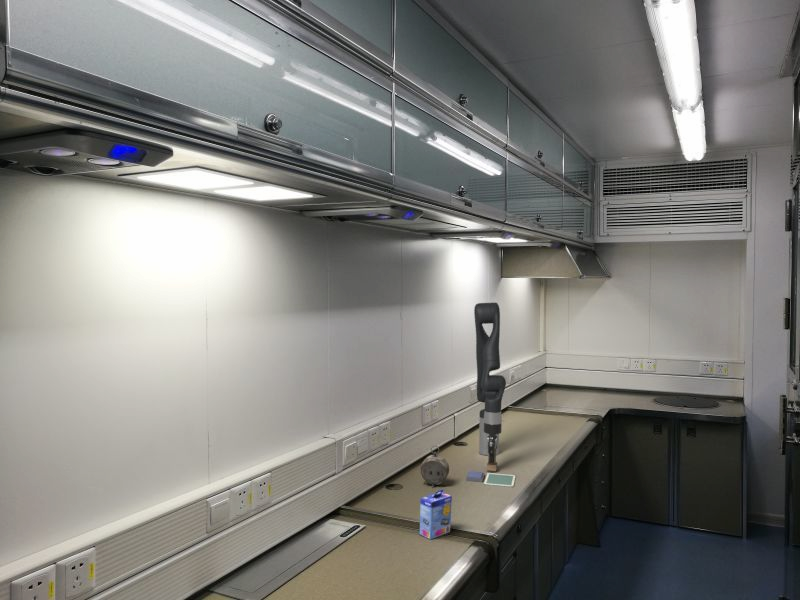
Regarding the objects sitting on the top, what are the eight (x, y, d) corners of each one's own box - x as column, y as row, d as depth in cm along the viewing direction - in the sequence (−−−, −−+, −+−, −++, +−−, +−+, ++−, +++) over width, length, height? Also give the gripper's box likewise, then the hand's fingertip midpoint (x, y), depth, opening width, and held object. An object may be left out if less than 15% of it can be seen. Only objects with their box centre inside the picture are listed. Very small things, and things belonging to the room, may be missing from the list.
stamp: (487, 467, 276) (487, 443, 275) (497, 468, 275) (498, 444, 274) (486, 471, 270) (486, 447, 269) (496, 472, 269) (496, 448, 268)
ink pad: (468, 474, 266) (468, 470, 266) (484, 475, 264) (484, 471, 264) (466, 480, 258) (466, 476, 258) (482, 482, 256) (482, 477, 256)
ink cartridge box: (431, 540, 198) (431, 494, 198) (418, 535, 202) (419, 490, 202) (451, 532, 205) (452, 487, 205) (439, 527, 209) (439, 483, 209)
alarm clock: (449, 485, 252) (449, 444, 251) (446, 489, 246) (447, 448, 246) (422, 482, 255) (422, 442, 254) (419, 486, 249) (419, 446, 249)
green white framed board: (487, 473, 267) (487, 472, 267) (515, 476, 264) (515, 475, 264) (483, 484, 253) (483, 483, 253) (513, 487, 250) (513, 486, 250)
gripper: (485, 417, 279) (484, 456, 280) (482, 424, 265) (481, 465, 266) (502, 418, 277) (502, 457, 278) (500, 425, 264) (499, 466, 264)
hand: (492, 461), depth 272 cm, fingers closed on stamp, 3 cm apart
